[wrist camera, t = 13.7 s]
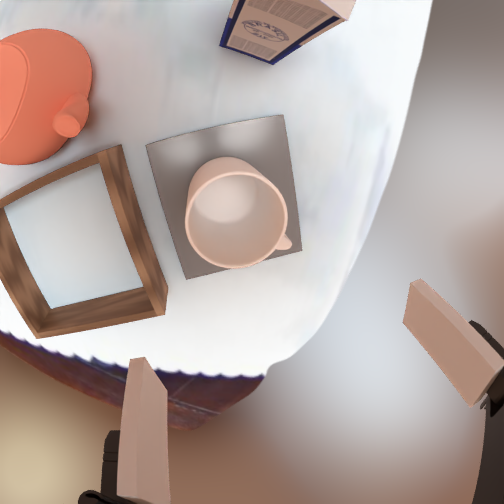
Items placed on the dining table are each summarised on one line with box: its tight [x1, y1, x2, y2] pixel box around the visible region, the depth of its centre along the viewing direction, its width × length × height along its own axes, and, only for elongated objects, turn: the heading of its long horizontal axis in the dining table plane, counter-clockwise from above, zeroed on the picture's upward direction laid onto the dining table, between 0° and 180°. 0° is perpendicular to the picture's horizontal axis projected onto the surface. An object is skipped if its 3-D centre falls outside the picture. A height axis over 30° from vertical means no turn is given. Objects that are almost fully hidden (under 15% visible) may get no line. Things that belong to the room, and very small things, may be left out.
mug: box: [185, 157, 292, 269], centre depth 28 cm, size 9×12×11 cm
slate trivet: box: [146, 115, 302, 280], centre depth 34 cm, size 18×16×1 cm
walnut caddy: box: [0, 145, 168, 339], centre depth 29 cm, size 20×22×6 cm
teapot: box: [0, 29, 92, 165], centre depth 17 cm, size 25×17×13 cm
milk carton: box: [219, 0, 356, 65], centre depth 16 cm, size 7×7×20 cm
